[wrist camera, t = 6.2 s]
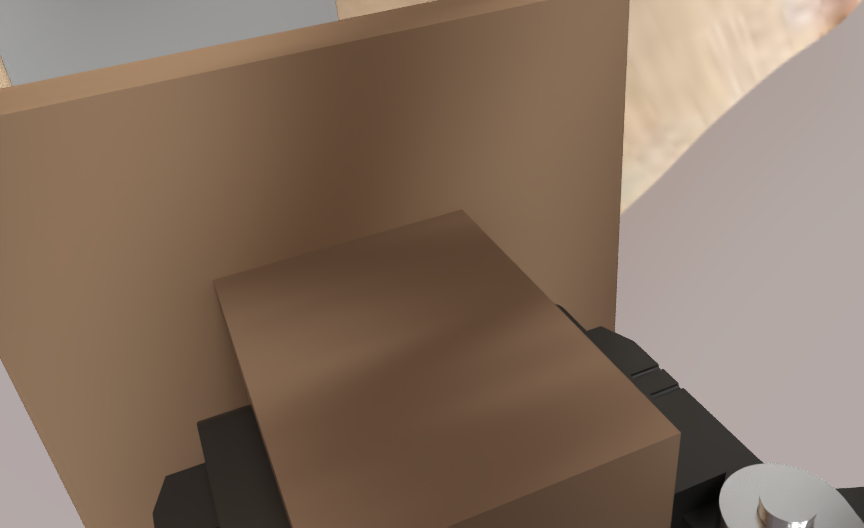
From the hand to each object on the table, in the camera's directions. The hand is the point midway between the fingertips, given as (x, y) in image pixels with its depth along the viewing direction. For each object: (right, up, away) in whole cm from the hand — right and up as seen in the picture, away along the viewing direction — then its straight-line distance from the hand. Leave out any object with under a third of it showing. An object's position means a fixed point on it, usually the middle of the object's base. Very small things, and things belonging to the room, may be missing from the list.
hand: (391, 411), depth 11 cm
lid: (-1, +1, +2) cm, 2 cm away
